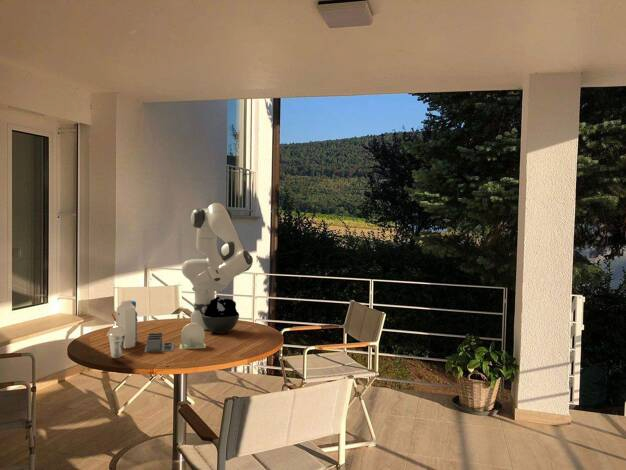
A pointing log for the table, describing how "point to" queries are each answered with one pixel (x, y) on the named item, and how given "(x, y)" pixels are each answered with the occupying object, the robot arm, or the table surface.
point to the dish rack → (157, 343)
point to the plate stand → (184, 346)
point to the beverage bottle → (135, 320)
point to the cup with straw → (116, 339)
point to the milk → (127, 322)
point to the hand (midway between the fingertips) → (199, 291)
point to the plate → (193, 334)
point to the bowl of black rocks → (220, 315)
